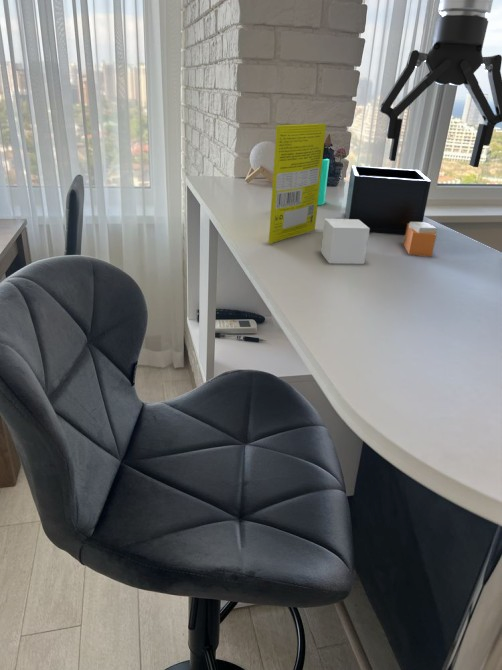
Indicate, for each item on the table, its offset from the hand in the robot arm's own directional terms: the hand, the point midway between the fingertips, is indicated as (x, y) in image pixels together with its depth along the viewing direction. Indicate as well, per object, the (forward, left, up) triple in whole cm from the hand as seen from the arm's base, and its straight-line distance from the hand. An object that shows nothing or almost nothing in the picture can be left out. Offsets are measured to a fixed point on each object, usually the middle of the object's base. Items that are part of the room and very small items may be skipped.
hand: (432, 163), depth 86 cm
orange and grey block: (0, 0, -15) cm, 15 cm away
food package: (+23, -2, -16) cm, 28 cm away
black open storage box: (+5, -18, -15) cm, 24 cm away
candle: (+20, -36, -16) cm, 44 cm away
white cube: (+14, +9, -16) cm, 22 cm away
